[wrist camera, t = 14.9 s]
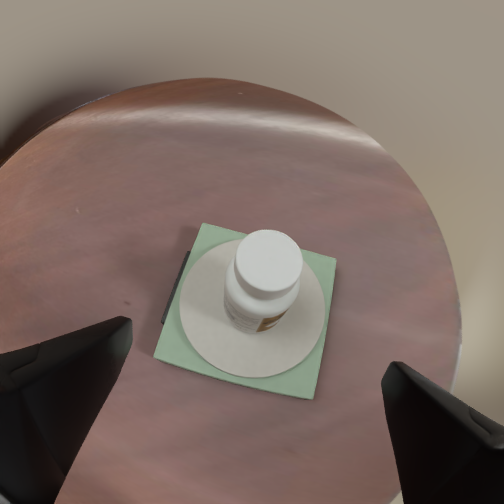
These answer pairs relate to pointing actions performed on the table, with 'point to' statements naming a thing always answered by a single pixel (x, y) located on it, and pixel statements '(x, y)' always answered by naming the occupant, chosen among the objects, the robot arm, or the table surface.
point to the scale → (234, 340)
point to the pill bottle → (262, 280)
